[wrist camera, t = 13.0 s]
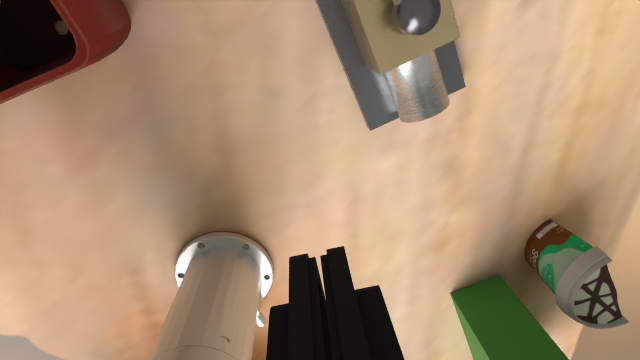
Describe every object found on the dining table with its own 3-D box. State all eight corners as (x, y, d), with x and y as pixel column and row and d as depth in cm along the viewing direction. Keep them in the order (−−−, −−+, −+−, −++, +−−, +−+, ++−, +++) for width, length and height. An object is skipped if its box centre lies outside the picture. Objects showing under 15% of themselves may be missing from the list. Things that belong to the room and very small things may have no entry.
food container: (504, 232, 46) (556, 283, 37) (547, 210, 45) (611, 257, 36) (529, 289, 51) (581, 346, 42) (569, 271, 50) (630, 325, 41)
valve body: (459, 84, 37) (504, 100, 29) (367, 127, 39) (387, 153, 31) (401, -130, 29) (442, -189, 21) (287, -68, 30) (286, -101, 23)
